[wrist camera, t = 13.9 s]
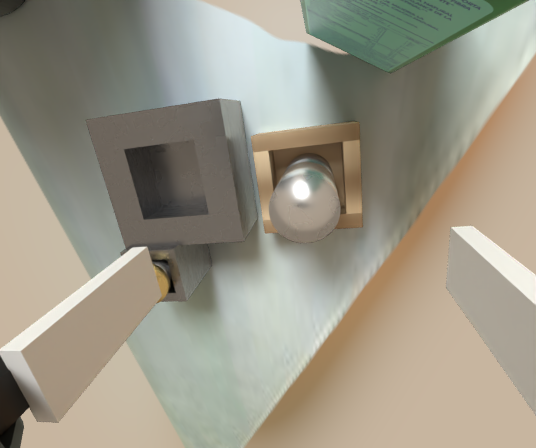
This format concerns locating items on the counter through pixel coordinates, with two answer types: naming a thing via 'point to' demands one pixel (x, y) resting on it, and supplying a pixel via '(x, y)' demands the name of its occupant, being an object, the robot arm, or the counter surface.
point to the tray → (318, 142)
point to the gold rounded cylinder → (162, 276)
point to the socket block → (178, 183)
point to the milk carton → (397, 25)
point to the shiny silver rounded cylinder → (305, 200)
